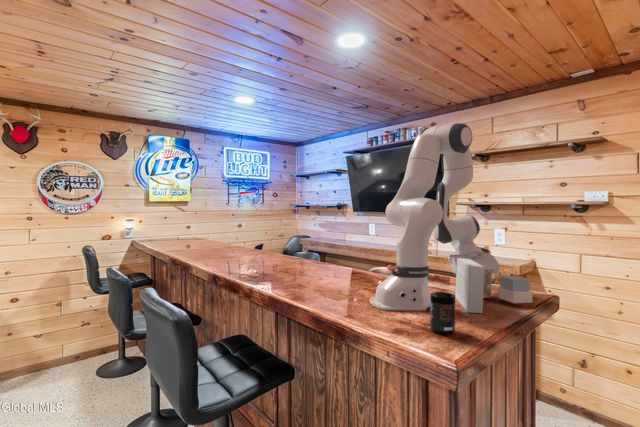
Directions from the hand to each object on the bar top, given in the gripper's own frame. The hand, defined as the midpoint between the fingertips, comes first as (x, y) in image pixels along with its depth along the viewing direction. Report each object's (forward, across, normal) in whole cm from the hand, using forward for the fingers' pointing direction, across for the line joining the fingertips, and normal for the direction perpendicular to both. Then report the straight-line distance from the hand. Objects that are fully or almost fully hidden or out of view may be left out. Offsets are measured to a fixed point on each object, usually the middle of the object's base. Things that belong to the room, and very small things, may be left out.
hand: (483, 282), depth 134 cm
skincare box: (+11, -13, -2) cm, 17 cm away
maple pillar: (+4, 0, +5) cm, 6 cm away
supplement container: (+27, -37, -18) cm, 50 cm away
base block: (+9, +9, 0) cm, 13 cm away
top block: (+6, +9, -3) cm, 11 cm away
